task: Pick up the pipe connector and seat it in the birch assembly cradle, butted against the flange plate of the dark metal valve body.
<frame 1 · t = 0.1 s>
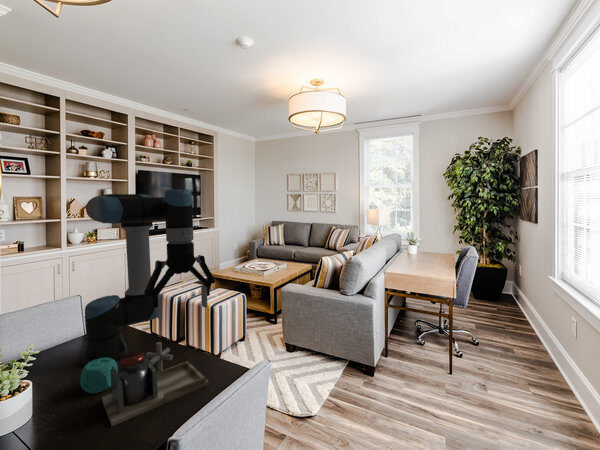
hand: (183, 312, 91), 28 cm above the table, fingers open, 13 cm apart
jig: (157, 392, 97), on the table
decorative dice: (100, 386, 101), on the table
pipe connector: (160, 370, 111), on the table
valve: (134, 401, 93), resting on jig
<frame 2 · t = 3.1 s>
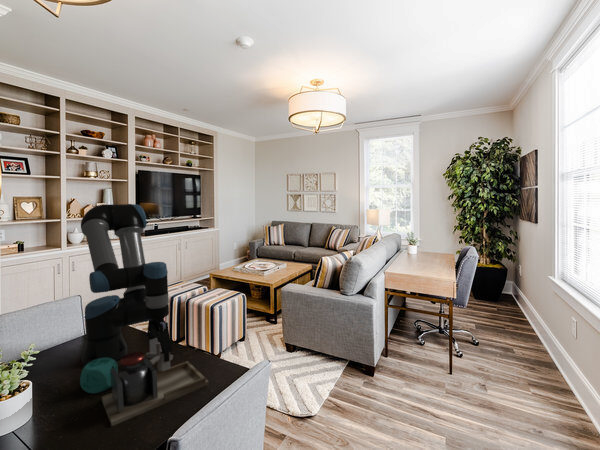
hand: (159, 362, 110), 3 cm above the table, fingers open, 13 cm apart
nothing on the table moved.
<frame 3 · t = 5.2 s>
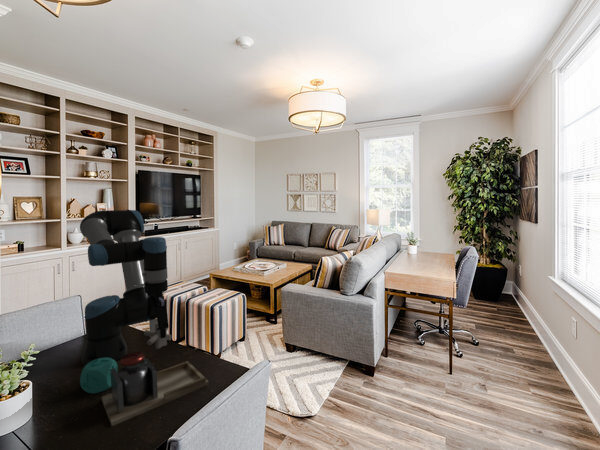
hand: (158, 340, 110), 11 cm above the table, fingers closed on pipe connector, 9 cm apart
pipe connector: (158, 347, 111), point 8 cm above the table, touching gripper
everything else where it was.
when the fingers open (4 cm above the table, at t = 9.8 s): pipe connector stays where it is, resting on jig.
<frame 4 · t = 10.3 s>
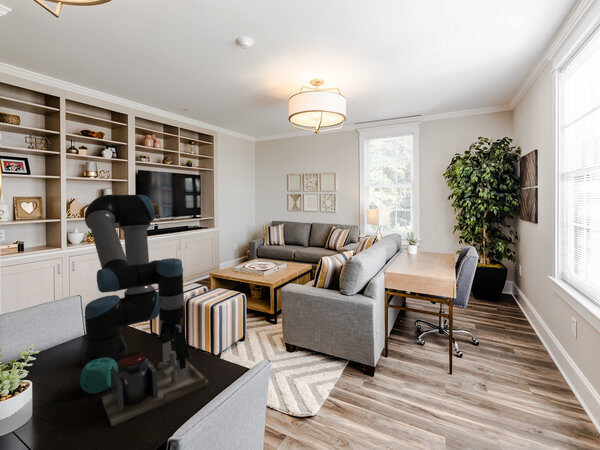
hand: (174, 368, 101), 6 cm above the table, fingers open, 13 cm apart
pipe connector: (174, 381, 102), point 1 cm above the table, touching jig
everything else where it was.
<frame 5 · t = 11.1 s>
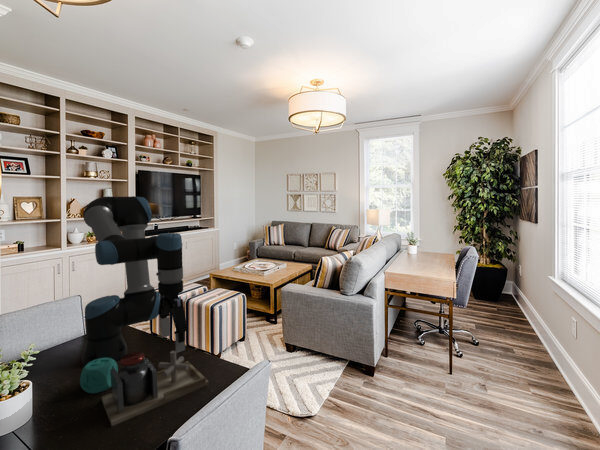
hand: (172, 343, 100), 14 cm above the table, fingers open, 13 cm apart
nothing on the table moved.
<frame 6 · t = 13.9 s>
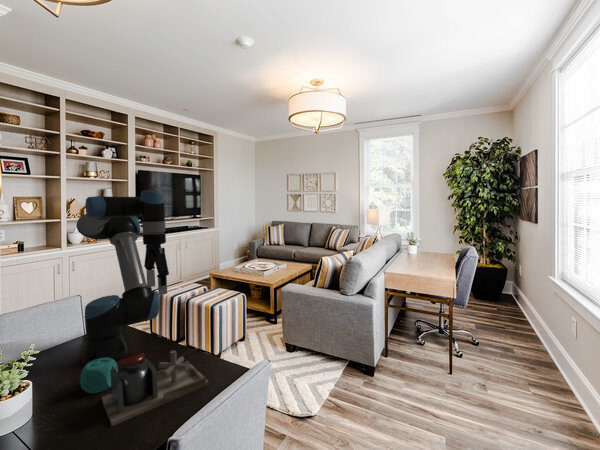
hand: (156, 290, 112), 29 cm above the table, fingers open, 13 cm apart
nothing on the table moved.
at the end: pipe connector inside the target area on the jig (0.8 cm from its centre), point 1.0 cm above the jig's base; pipe connector tilted 1°; the gripper is holding nothing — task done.
